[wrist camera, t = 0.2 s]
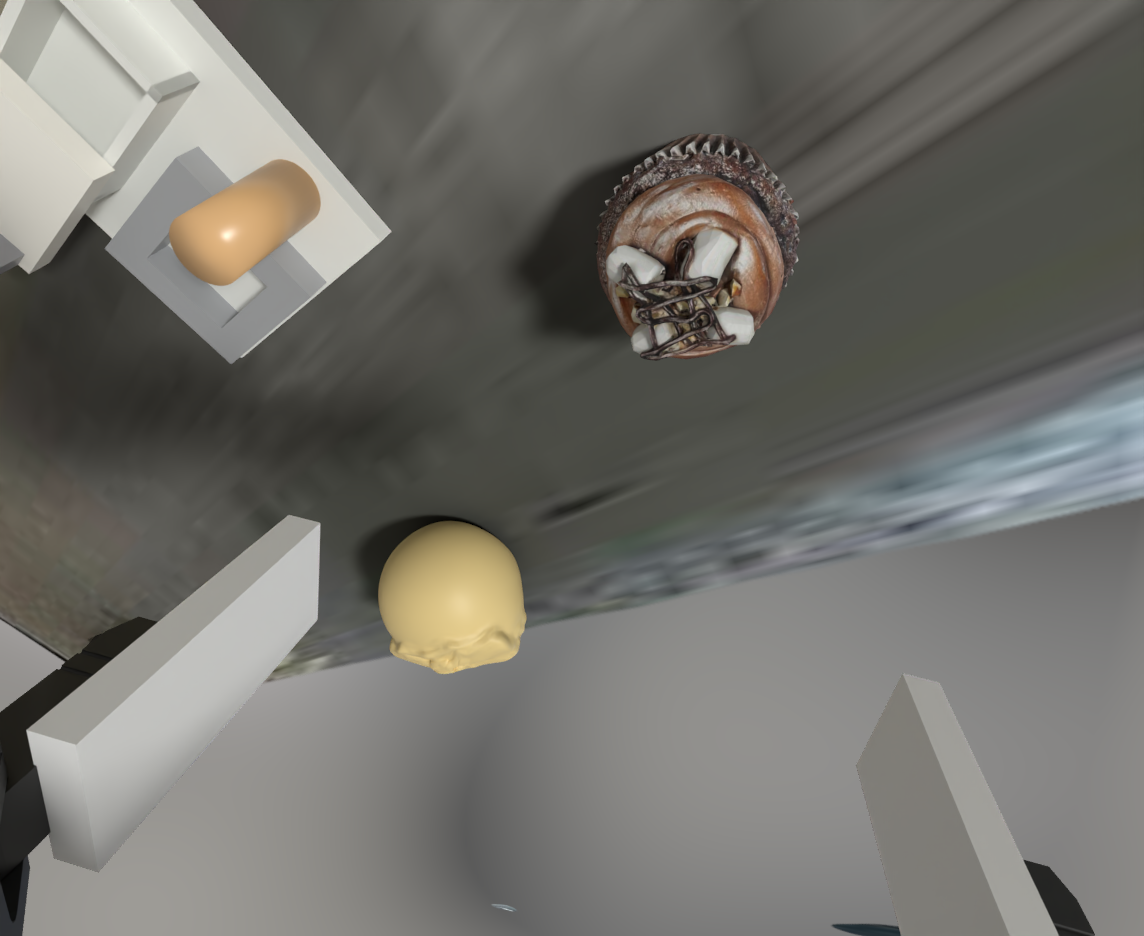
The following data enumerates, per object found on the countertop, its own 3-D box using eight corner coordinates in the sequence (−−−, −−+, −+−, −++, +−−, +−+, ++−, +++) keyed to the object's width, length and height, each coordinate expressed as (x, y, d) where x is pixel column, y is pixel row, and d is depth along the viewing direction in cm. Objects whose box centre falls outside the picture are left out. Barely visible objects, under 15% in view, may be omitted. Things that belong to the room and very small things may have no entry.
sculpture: (452, 601, 65) (408, 702, 57) (383, 514, 59) (323, 614, 51) (557, 589, 60) (524, 698, 52) (494, 493, 54) (446, 601, 46)
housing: (90, -120, 32) (-100, -114, 25) (391, 231, 40) (312, 307, 34) (-14, 95, 40) (-176, 143, 34) (253, 347, 49) (167, 426, 42)
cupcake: (824, 254, 36) (835, 355, 29) (658, 319, 40) (633, 420, 33) (759, 73, 31) (754, 139, 24) (580, 170, 36) (530, 249, 28)
